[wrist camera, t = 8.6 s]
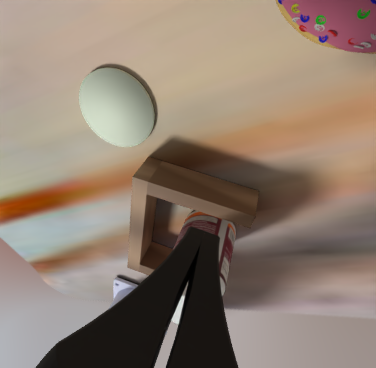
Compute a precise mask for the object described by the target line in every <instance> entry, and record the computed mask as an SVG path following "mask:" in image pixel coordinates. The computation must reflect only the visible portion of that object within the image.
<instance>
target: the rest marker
mask: <svg viewBox="0 0 376 368" xmlns="http://www.w3.org/2000/svg"><path fill="white" fill-rule="evenodd" d="M79 103H80V108H81V111H82V114H83V116H84V118H85V120H86V122H87V124H88V125H89V126H90V128H91V129H92V130H93V131H94V132H95V133H96V134H97V135H98V136H99V137H101V138H102V139H103V140H105V141H106V142H108V143H110V144H113V145H116V146H120V147H132V146H136V145H138V144H140V143H142V142H143V141H144V140H145V139H146V138H147V137H148V136H149V134H150V133H151V131H152V129H153V126H154V121H155V113H154V107H153V103H152V101H151V98H150V96H149V94H148V92H147V91H146V89H145V88H144V87H143V85H142V84H141V83H140V82H139V81H138V80H137V79H136V78H134V77H133V76H132V75H130V74H129V73H127V72H125V71H123V70H120V69H117V68H110V67H106V68H100V69H97V70H95V71H93V72H91V73H90V74H89V75H87V77H86V78H85V79H84V80H83V82H82V84H81V87H80V91H79Z"/></svg>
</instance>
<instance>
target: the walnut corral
mask: <svg viewBox="0 0 376 368" xmlns="http://www.w3.org/2000/svg"><path fill="white" fill-rule="evenodd" d="M258 195H259V191H257V190H254V189H251V188H247V187H244V186H241V185H238V184H235V183H231V182H228V181H225V180H222V179H219V178H215V177H212V176H209V175H206V174H203V173H199V172H196V171H193V170H190V169H187V168H183V167H180V166H177V165H174V164H171V163H167V162H164V161H161V160H158V159H155V158H151V157H148V158H147V159H146V160H145V162H144V163H143V164H142V166H141V167H140V168H139V169H138V171H137V172H136V173H135V174H134V176H133V178H132V196H131V215H130V233H129V251H128V268H130V269H133V270H136V271H138V272H141V273H144V274H147V275H150V274H151V273H152V272H153V271H154V270H155V269H156V268H157V267H158V266H159V265H160V264H161V263H162V262H163V261H164V260H165V259H166V258H167V256H168V255H169V254H170V253H171V252H172V251H173V249H171V248H169V247H166V246H163V245H160V244H157V243H154V242H152V235H153V227H154V220H155V212H156V205H157V198H160V199H163V200H166V201H169V202H172V203H175V204H178V205H181V206H184V207H187V208H190V209H193V210H196V211H199V212H202V213H205V214H208V215H211V216H214V217H217V218H220V219H224V220H227V221H230V222H233V223H236V224H239V225H242V226H245V227H248V228H251V225H252V223H253V221H254V219H255V216H256V209H257V202H258Z"/></svg>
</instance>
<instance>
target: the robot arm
mask: <svg viewBox="0 0 376 368" xmlns="http://www.w3.org/2000/svg"><path fill="white" fill-rule="evenodd" d="M219 243H220V237H219V236H218V235H215V234H212V233H209V232H206V231H203V230H200V229H198V228H195V227H189V228H188V230H187V232H186V233H185V235H184V236H183V238H182V239H181V240H180V242H179V243H178V244H177V246H176V247H175V248H174V249H173V251H172V252H171V253H170V254H169V255H168V256H167V258H166V259H165V260H164V261H163V262H162V263H161V264H160V265H159V266H158V267H157V268H156V269H155V270H154V271H153V272H152V273H151V274H150V275H149V276H148V277H147V278H146V279H145V280H144V281H143V282H142V283H141V284H139V285H137V284H134V283H131V282H129V281H126V280H123V279H121V278H118V277H116V278H115V279H114V300H113V302H112V304H111V306H110V308H109V309H108V310H107V311H106V312H104V313H103V314H101V315H100V316H98V317H97V318H96V319H94V320H93V321H92V322H90V323H88V324H87V325H85V326H84V327H82V328H81V329H79V330H77V331H76V332H74V333H72V334H71V335H69V336H68V337H66V338H64V339H63V340H61V341H59V342H58V343H57V344H56V345H55V346H54V347H53V348H52V349H51V350H50V351H49V352H48V353H47V354H46V356H45V357H44V358H43V359H42V360H41V361H40V363H39V364H38V365H37V366H36V368H154V366H155V363H156V360H157V357H158V354H159V351H160V348H161V345H162V343H163V340H164V337H165V335H166V333H167V330H168V327H169V324H170V322H171V320H172V317H173V315H174V313H175V311H176V308H177V306H178V304H179V301H180V299H181V297H182V295H183V292H184V290H185V288H186V285H187V283H188V286H187V290H186V294H185V298H184V303H183V307H182V311H181V316H180V320H179V324H178V329H177V332H176V336H175V340H174V343H173V346H172V349H171V352H170V356H169V359H168V362H167V365H166V368H238V365H237V361H236V358H235V354H234V351H233V347H232V344H231V339H230V335H229V331H228V327H227V322H226V317H225V312H224V306H223V299H222V293H221V284H220V273H219Z"/></svg>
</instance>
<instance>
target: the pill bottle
mask: <svg viewBox="0 0 376 368" xmlns="http://www.w3.org/2000/svg"><path fill="white" fill-rule="evenodd" d="M189 227H195V228H198V229H200V230H203V231H206V232H209V233H212V234H215V235H218V236H219V237H220V243H219V273H220V284H221V293H222V296H223V295H224V292H225V289H226V284H227V278H228V273H229V268H230V262H231V257H232V252H233V247H234V242H235V237H236V229H235V226H234V224H233V222H230V221H227V220H224V219H220V218H217V217H214V216H211V215H208V214H205V213H202V212H199V211H194V212H192V213H191V214H189V215H188V216H187V218H186V220H185V222H184V225H183V227H182V229H181V232H180V234H179V236H178V239H177V241H176V243H175V246H174V248H175V247H176V246H177V244H178V243H179V242H180V240H181V239H182V238H183V236H184V235H185V233H186V232H187V230H188V228H189ZM174 248H173V249H174ZM187 286H188V283H187V285H186V288H185V290H184V292H183V295H182V297H181V299H180V301H179V304H178V306H177V308H176V311H175V313H174V315H173V317H172V320H171V321H172V322H174V323H176V324H179V320H180V316H181V311H182V307H183V303H184V298H185V294H186V290H187Z"/></svg>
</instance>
